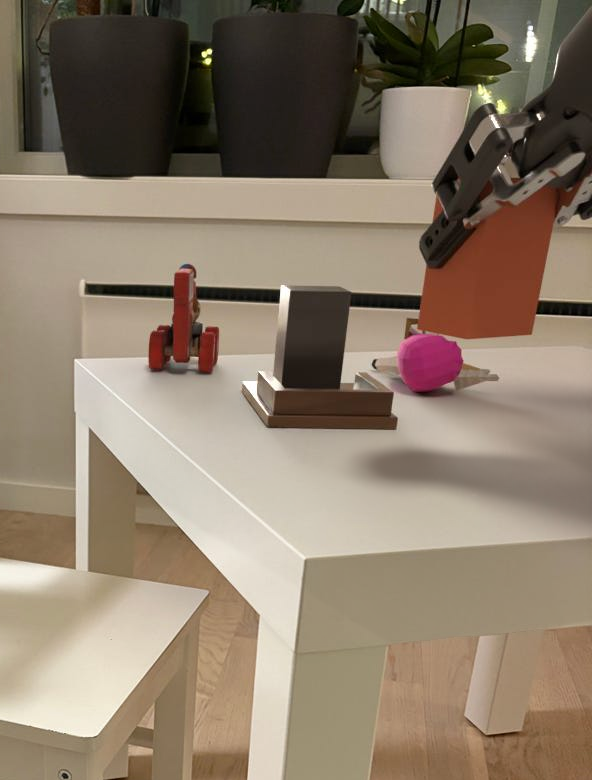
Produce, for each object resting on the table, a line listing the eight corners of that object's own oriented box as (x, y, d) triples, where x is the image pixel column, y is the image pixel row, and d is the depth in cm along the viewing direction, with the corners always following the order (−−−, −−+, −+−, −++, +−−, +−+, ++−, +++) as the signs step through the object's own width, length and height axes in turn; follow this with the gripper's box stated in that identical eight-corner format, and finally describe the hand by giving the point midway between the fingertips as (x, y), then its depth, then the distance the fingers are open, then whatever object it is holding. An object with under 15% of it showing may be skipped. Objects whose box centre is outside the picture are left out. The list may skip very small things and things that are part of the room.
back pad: (532, 335, 62) (562, 178, 58) (466, 339, 60) (493, 177, 56) (480, 325, 65) (505, 177, 62) (416, 329, 63) (438, 176, 59)
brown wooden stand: (396, 429, 82) (414, 305, 78) (267, 427, 82) (278, 302, 78) (352, 393, 96) (366, 285, 91) (241, 391, 95) (249, 283, 91)
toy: (457, 375, 107) (508, 393, 93) (370, 384, 108) (409, 403, 94) (459, 306, 105) (512, 313, 91) (370, 315, 105) (409, 324, 91)
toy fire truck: (219, 358, 112) (225, 262, 108) (210, 378, 101) (217, 272, 97) (159, 355, 113) (163, 260, 109) (144, 375, 102) (148, 269, 98)
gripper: (744, -30, 51) (523, 209, 66) (545, -59, 45) (352, 210, 60) (813, 79, 49) (569, 301, 64) (614, 63, 43) (397, 310, 58)
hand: (465, 256), depth 62 cm, fingers closed on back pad, 5 cm apart
